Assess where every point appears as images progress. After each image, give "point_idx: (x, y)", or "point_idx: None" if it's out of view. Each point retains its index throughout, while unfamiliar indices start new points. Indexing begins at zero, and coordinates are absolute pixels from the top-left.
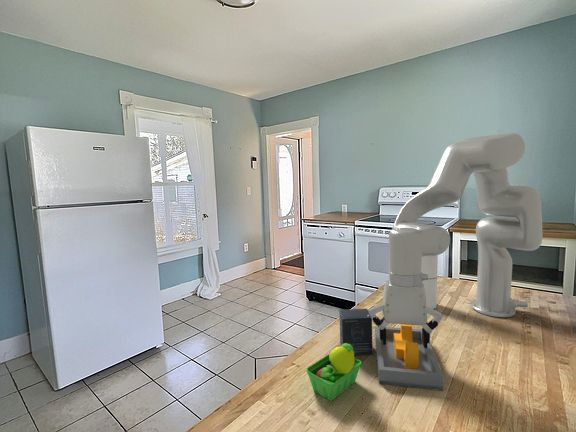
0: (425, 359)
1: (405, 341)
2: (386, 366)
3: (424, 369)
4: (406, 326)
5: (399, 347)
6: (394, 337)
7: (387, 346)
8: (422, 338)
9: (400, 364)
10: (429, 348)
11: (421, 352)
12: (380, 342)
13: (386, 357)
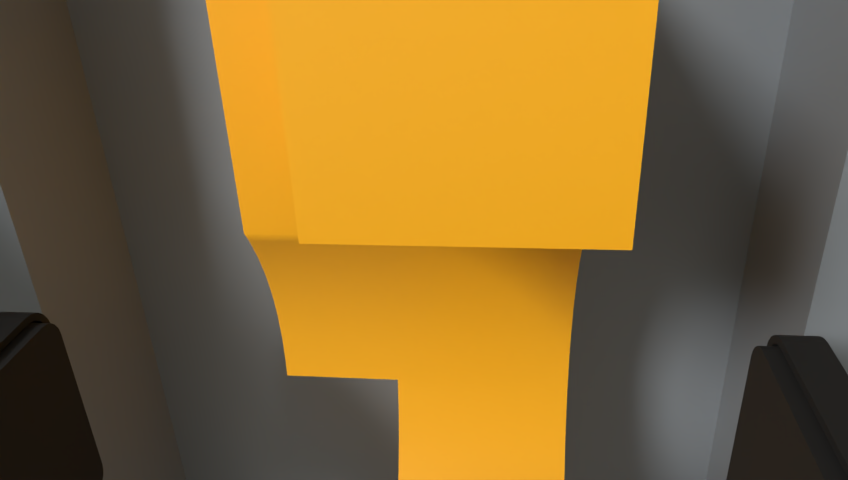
0: (717, 282)
1: (440, 248)
2: (219, 454)
3: (633, 465)
4: (455, 245)
5: (336, 337)
6: (230, 122)
7: (184, 19)
8: (775, 465)
9: (370, 409)
10: (846, 348)
11: (719, 114)
12: (21, 268)
13: (201, 306)
